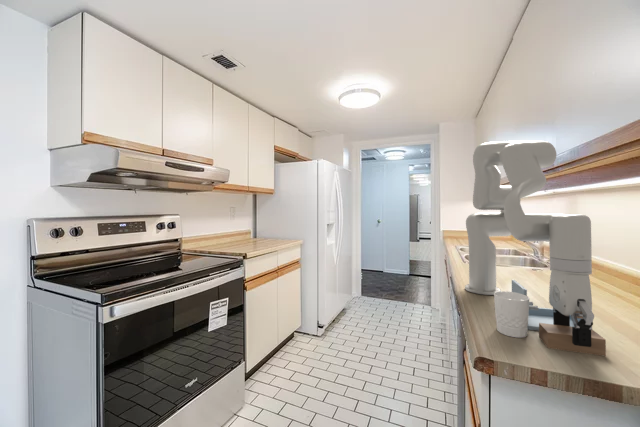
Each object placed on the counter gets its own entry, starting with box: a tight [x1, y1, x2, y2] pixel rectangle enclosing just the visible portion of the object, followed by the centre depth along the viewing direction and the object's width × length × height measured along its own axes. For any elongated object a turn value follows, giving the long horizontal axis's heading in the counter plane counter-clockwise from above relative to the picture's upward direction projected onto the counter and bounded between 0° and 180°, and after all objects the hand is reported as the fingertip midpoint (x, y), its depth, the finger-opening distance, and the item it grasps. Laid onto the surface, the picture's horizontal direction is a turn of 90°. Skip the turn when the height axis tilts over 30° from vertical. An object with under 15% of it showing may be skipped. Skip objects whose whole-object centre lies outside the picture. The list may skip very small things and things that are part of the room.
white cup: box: [493, 290, 531, 339], centre depth 75 cm, size 8×8×10 cm
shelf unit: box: [511, 279, 581, 332], centre depth 79 cm, size 11×15×11 cm
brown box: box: [538, 323, 607, 357], centre depth 67 cm, size 6×10×4 cm, turn 68°
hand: (570, 336), depth 67 cm, fingers open, 9 cm apart
